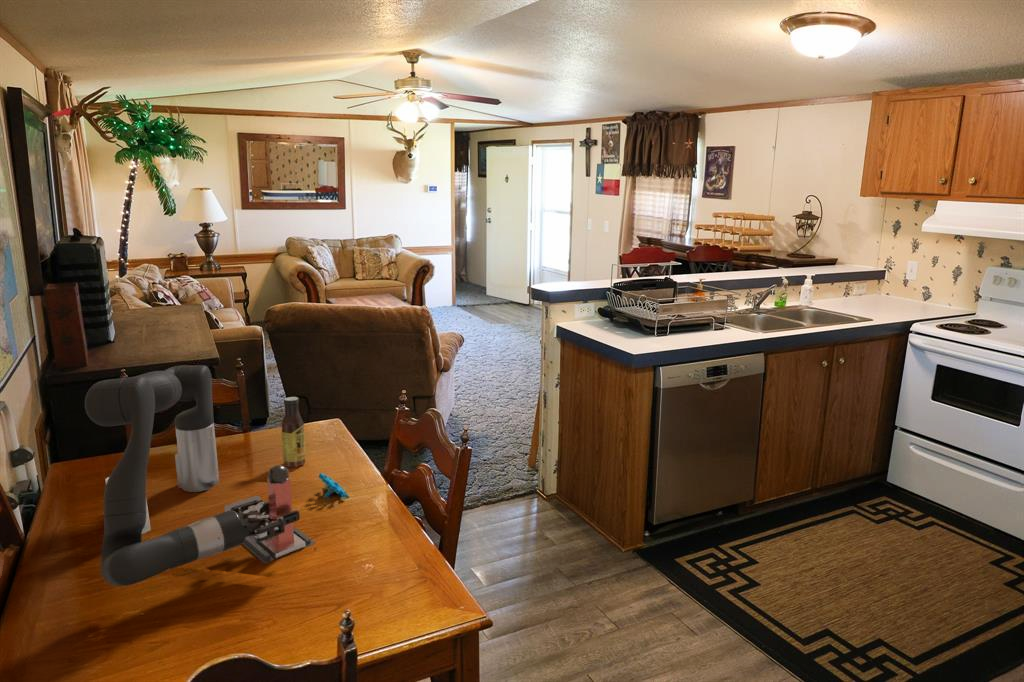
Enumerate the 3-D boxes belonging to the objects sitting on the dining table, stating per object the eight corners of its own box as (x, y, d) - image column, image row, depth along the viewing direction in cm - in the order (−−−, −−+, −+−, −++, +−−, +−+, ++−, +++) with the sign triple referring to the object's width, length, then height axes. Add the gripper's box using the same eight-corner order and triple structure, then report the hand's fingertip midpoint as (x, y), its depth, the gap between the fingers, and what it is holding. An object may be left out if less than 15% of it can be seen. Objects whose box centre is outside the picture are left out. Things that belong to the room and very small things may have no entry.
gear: (355, 499, 171) (325, 477, 167) (339, 518, 170) (308, 496, 166) (347, 487, 181) (318, 466, 178) (333, 505, 180) (303, 483, 176)
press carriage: (254, 540, 151) (248, 461, 146) (284, 529, 156) (278, 452, 151) (275, 558, 144) (269, 475, 140) (305, 546, 149) (300, 466, 144)
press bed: (212, 522, 162) (210, 503, 161) (260, 506, 170) (258, 488, 169) (265, 569, 143) (263, 548, 141) (316, 549, 151) (315, 528, 150)
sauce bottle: (302, 468, 192) (298, 402, 188) (280, 468, 193) (275, 402, 188) (309, 459, 199) (305, 395, 194) (288, 459, 199) (283, 395, 194)
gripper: (227, 531, 131) (305, 503, 143) (199, 506, 141) (273, 482, 152) (231, 565, 133) (307, 535, 144) (202, 538, 143) (276, 512, 154)
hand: (289, 508), depth 148 cm, fingers open, 7 cm apart
